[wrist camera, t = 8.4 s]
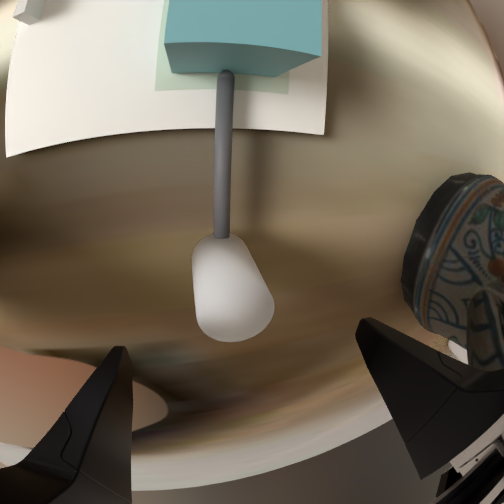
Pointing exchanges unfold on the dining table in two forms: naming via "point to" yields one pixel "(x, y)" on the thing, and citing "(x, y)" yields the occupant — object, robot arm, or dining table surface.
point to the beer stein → (461, 267)
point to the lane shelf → (134, 78)
